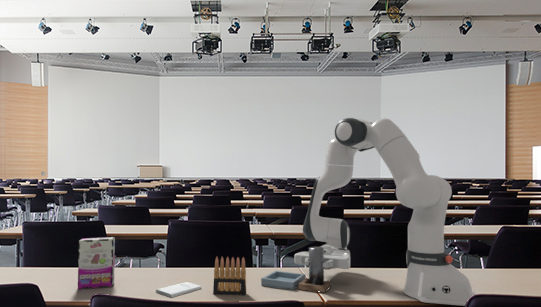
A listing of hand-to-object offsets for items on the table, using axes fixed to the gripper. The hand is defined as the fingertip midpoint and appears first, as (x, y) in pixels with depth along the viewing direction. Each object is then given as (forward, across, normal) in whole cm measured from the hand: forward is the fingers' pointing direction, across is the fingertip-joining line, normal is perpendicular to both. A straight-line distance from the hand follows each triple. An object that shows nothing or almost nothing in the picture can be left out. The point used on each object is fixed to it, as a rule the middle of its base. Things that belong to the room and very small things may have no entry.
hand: (315, 264), depth 131 cm
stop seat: (-1, 0, +8) cm, 8 cm away
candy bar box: (+31, -69, +8) cm, 76 cm away
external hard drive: (+22, -41, +8) cm, 47 cm away
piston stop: (-1, 0, +6) cm, 7 cm away
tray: (-1, -12, +8) cm, 15 cm away
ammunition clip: (+18, -23, +8) cm, 31 cm away
